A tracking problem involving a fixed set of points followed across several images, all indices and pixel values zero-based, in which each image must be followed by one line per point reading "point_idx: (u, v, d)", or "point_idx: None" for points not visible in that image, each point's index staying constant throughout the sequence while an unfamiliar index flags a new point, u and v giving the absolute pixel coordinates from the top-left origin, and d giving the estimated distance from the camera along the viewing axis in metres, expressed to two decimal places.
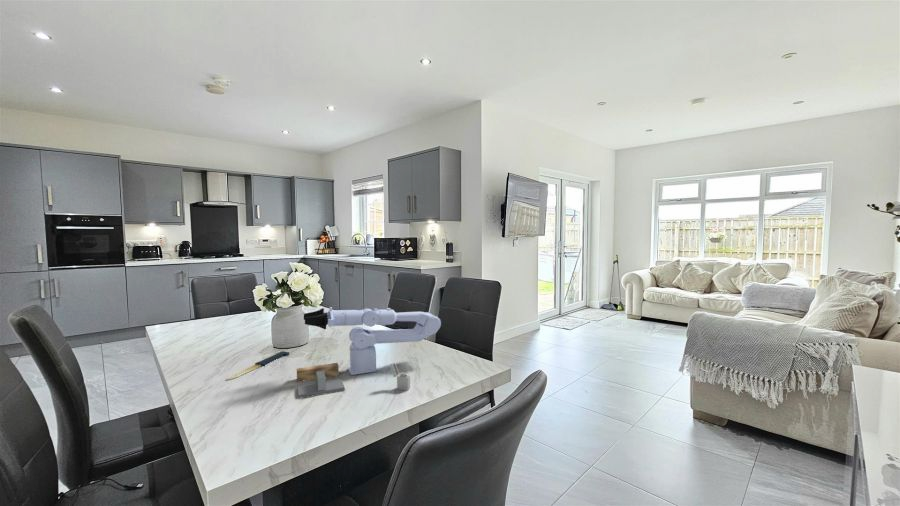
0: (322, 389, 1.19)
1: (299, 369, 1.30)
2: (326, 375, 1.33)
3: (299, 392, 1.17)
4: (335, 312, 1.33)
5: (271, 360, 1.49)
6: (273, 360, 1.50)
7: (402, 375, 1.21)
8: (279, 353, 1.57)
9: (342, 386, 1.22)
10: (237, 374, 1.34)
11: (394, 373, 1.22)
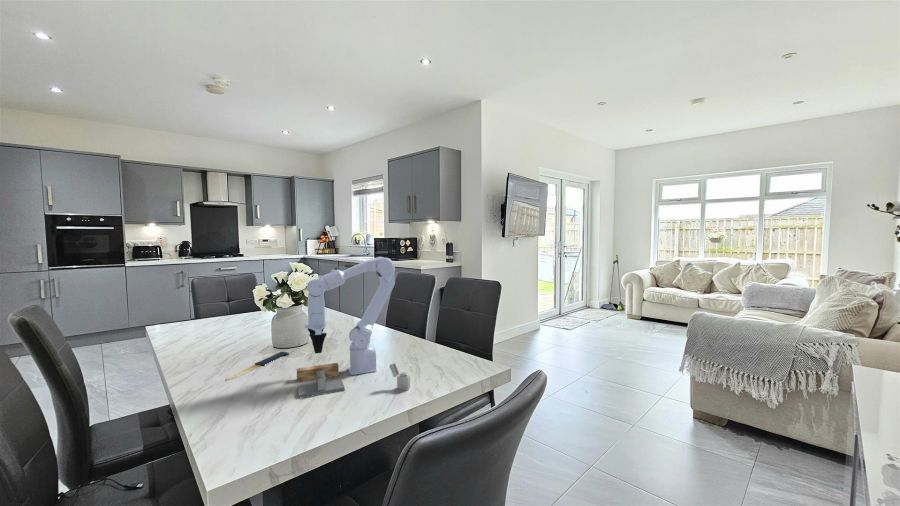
0: (322, 389, 1.19)
1: (299, 369, 1.30)
2: (326, 375, 1.33)
3: (299, 392, 1.17)
4: (309, 323, 1.29)
5: (270, 360, 1.49)
6: (272, 360, 1.50)
7: (402, 375, 1.21)
8: (279, 353, 1.57)
9: (342, 386, 1.22)
10: (236, 374, 1.34)
11: (394, 373, 1.22)
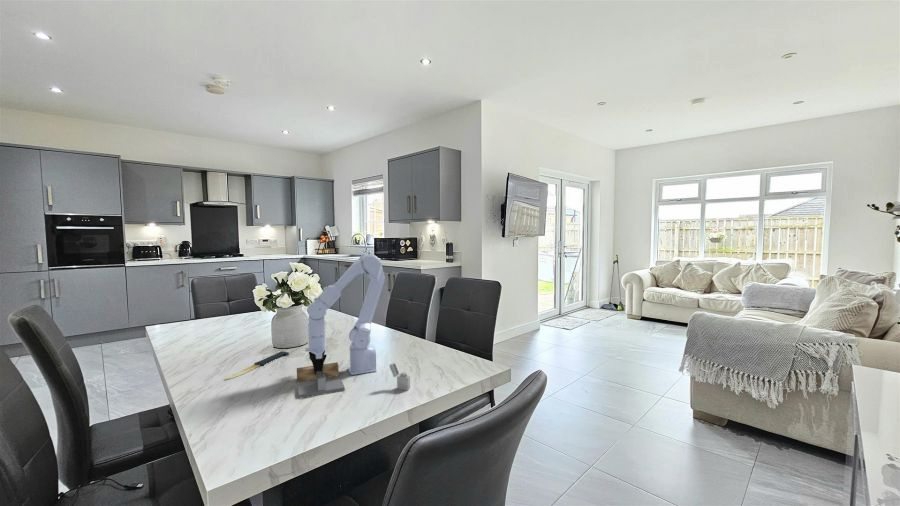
0: (322, 389, 1.19)
1: (299, 368, 1.30)
2: (326, 375, 1.32)
3: (299, 392, 1.17)
4: (310, 346, 1.30)
5: (270, 360, 1.49)
6: (272, 360, 1.50)
7: (402, 375, 1.21)
8: (279, 353, 1.57)
9: (342, 386, 1.22)
10: (236, 374, 1.34)
11: (394, 373, 1.22)
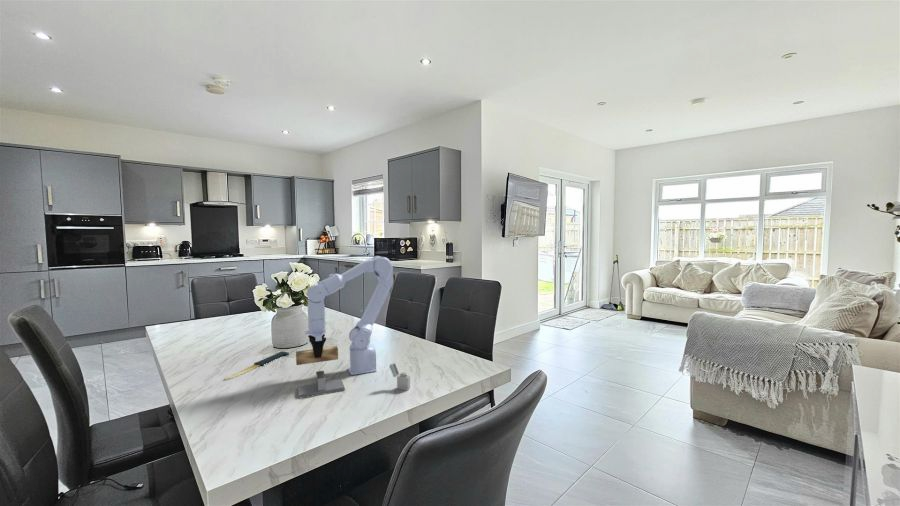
0: (322, 389, 1.19)
1: (298, 352, 1.30)
2: (325, 358, 1.32)
3: (299, 392, 1.17)
4: (310, 329, 1.30)
5: (270, 360, 1.49)
6: (272, 360, 1.50)
7: (402, 375, 1.21)
8: (279, 353, 1.57)
9: (342, 386, 1.22)
10: (235, 374, 1.34)
11: (394, 373, 1.22)
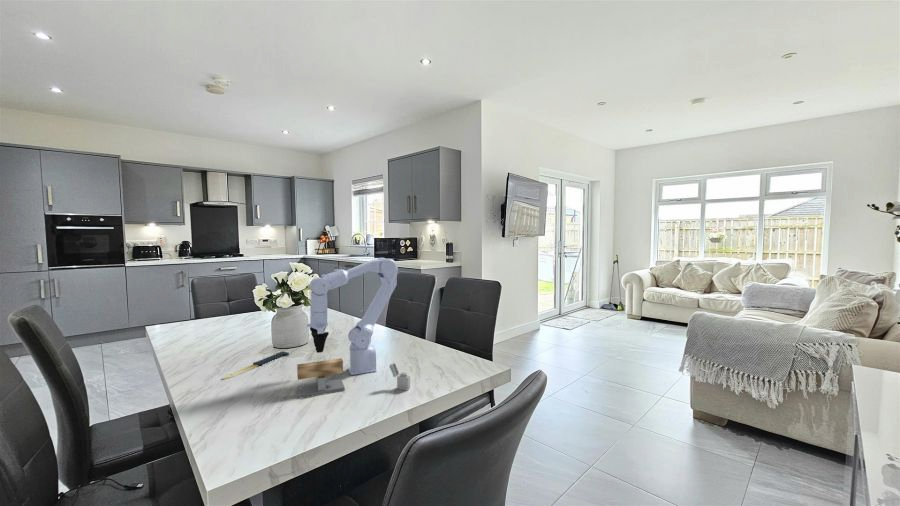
0: (322, 389, 1.19)
1: (300, 365, 1.19)
2: (329, 372, 1.21)
3: (299, 392, 1.17)
4: (312, 321, 1.29)
5: (269, 360, 1.49)
6: (271, 360, 1.50)
7: (402, 375, 1.21)
8: (279, 353, 1.57)
9: (342, 386, 1.22)
10: (233, 374, 1.35)
11: (394, 373, 1.22)
